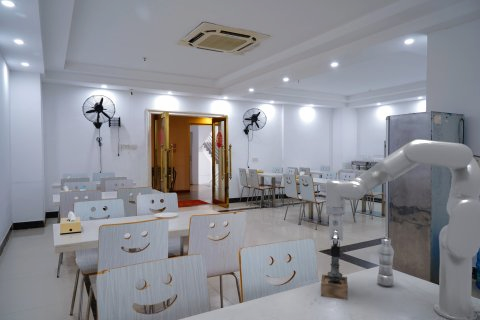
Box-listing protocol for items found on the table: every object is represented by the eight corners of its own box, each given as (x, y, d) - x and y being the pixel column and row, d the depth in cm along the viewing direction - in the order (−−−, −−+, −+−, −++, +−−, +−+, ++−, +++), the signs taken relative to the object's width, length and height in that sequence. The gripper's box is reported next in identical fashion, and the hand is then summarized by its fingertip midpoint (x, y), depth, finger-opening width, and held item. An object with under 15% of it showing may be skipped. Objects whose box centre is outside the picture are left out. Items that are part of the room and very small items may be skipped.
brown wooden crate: (346, 289, 135) (347, 277, 135) (347, 299, 126) (347, 286, 126) (322, 286, 138) (322, 274, 138) (320, 296, 129) (321, 283, 129)
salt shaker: (343, 286, 128) (343, 256, 128) (327, 285, 130) (328, 255, 129) (341, 280, 134) (342, 251, 134) (326, 279, 135) (327, 250, 135)
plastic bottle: (375, 285, 139) (376, 239, 139) (379, 280, 145) (379, 236, 145) (392, 289, 136) (392, 241, 135) (395, 284, 141) (395, 238, 141)
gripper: (345, 215, 122) (345, 260, 122) (344, 207, 139) (344, 247, 139) (325, 214, 124) (325, 258, 124) (326, 207, 141) (326, 246, 141)
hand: (335, 253), depth 132 cm, fingers open, 9 cm apart
